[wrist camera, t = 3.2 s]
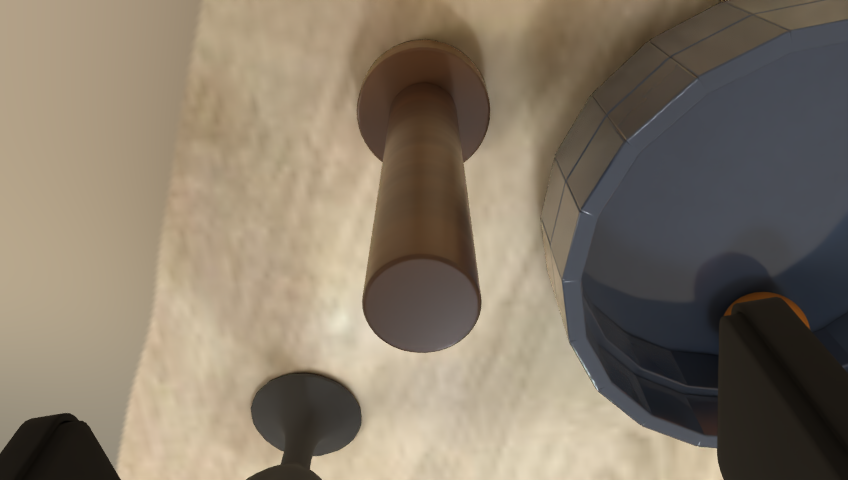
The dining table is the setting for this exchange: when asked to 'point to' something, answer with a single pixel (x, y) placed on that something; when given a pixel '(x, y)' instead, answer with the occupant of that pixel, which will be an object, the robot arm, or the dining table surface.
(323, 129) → the dining table surface
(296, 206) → the dining table surface
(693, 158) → the bowl
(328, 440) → the sundae
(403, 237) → the brown flanged wooden cylinder
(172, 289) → the dining table surface
